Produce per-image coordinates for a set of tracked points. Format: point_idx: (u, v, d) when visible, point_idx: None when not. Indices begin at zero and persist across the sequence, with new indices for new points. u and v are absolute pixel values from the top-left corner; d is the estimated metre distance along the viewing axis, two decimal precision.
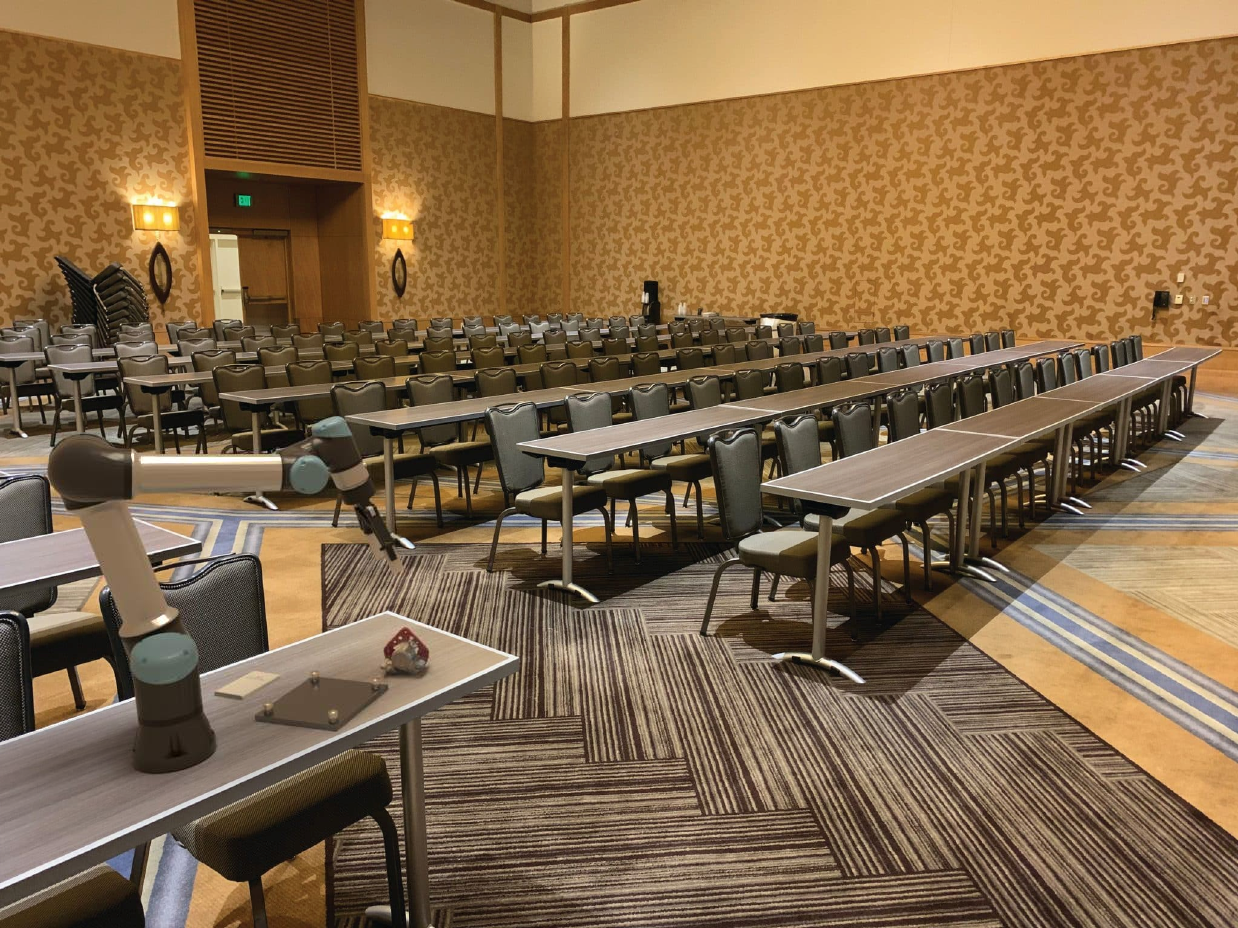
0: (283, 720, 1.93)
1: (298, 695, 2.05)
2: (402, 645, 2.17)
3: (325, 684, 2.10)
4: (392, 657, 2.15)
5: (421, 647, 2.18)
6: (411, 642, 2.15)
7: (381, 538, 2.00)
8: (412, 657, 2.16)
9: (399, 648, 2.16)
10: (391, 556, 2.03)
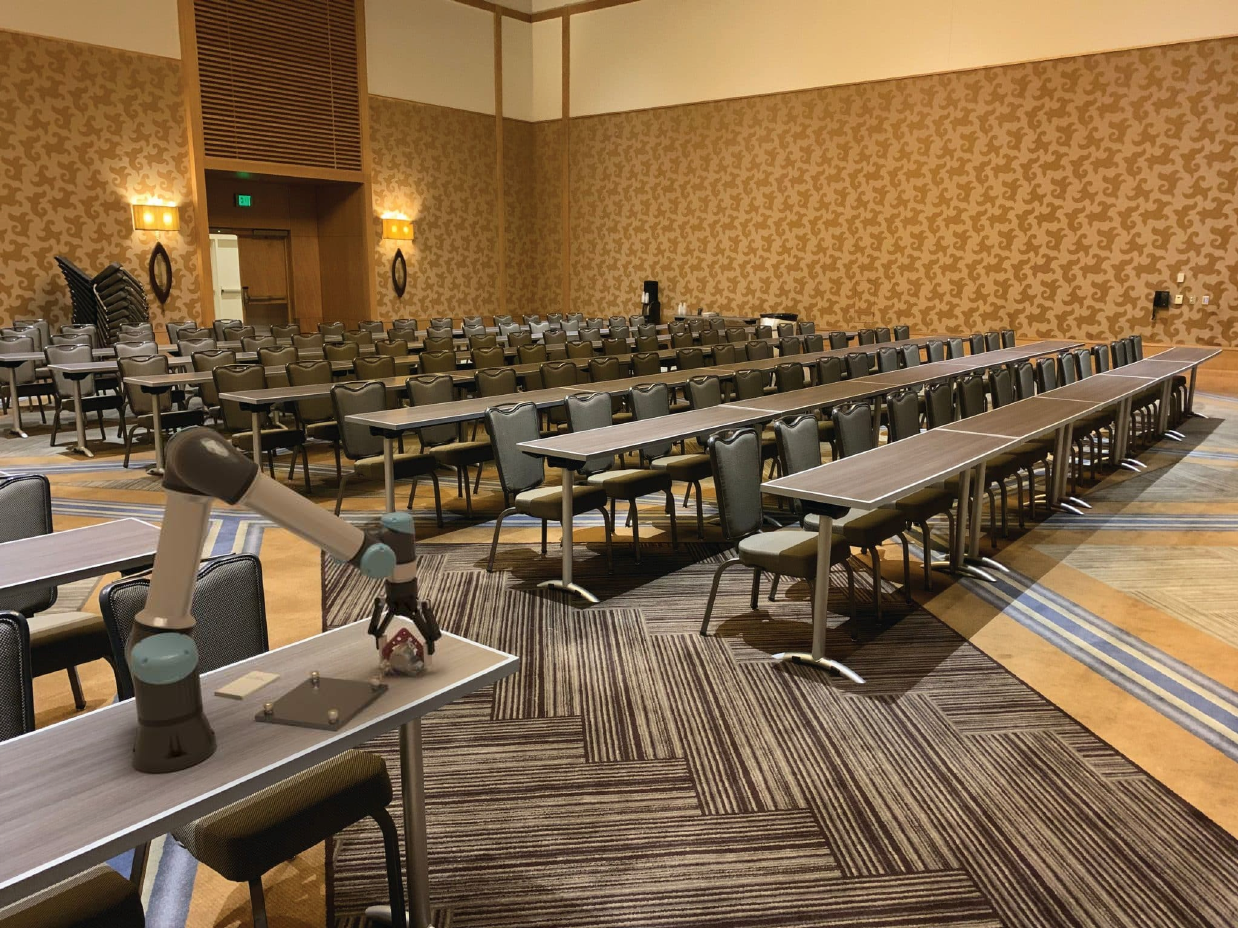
0: (283, 720, 1.93)
1: (298, 695, 2.05)
2: (400, 646, 2.17)
3: (325, 684, 2.10)
4: (390, 658, 2.15)
5: (420, 648, 2.18)
6: (409, 643, 2.14)
7: (434, 630, 2.15)
8: (410, 658, 2.16)
9: (397, 649, 2.15)
10: (432, 649, 2.16)
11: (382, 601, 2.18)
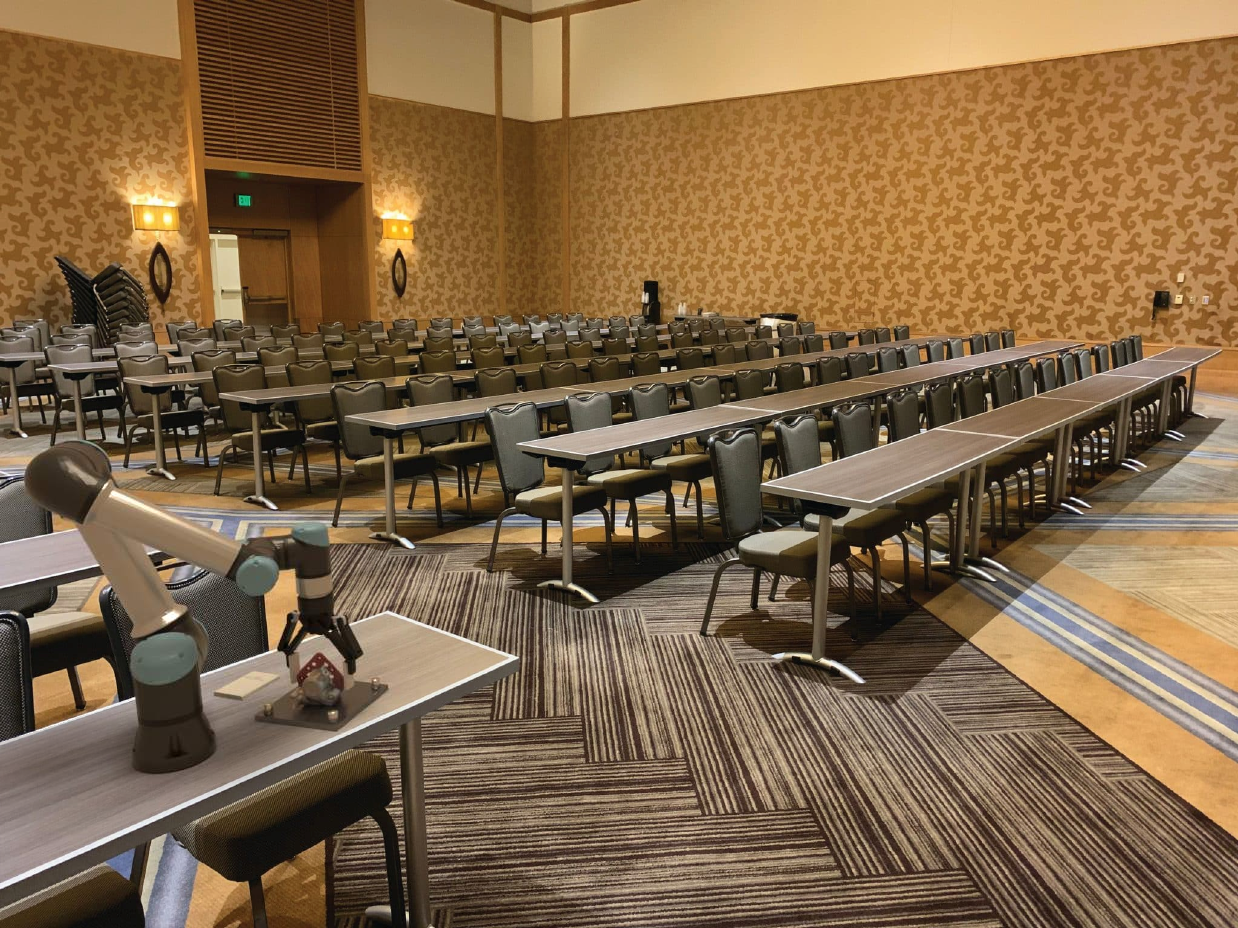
0: (283, 720, 1.93)
1: None
2: (315, 672, 1.99)
3: None
4: (303, 686, 1.97)
5: (336, 675, 2.00)
6: (323, 669, 1.97)
7: (354, 648, 1.96)
8: (325, 686, 1.98)
9: (311, 676, 1.98)
10: (353, 669, 1.98)
11: (295, 617, 2.00)
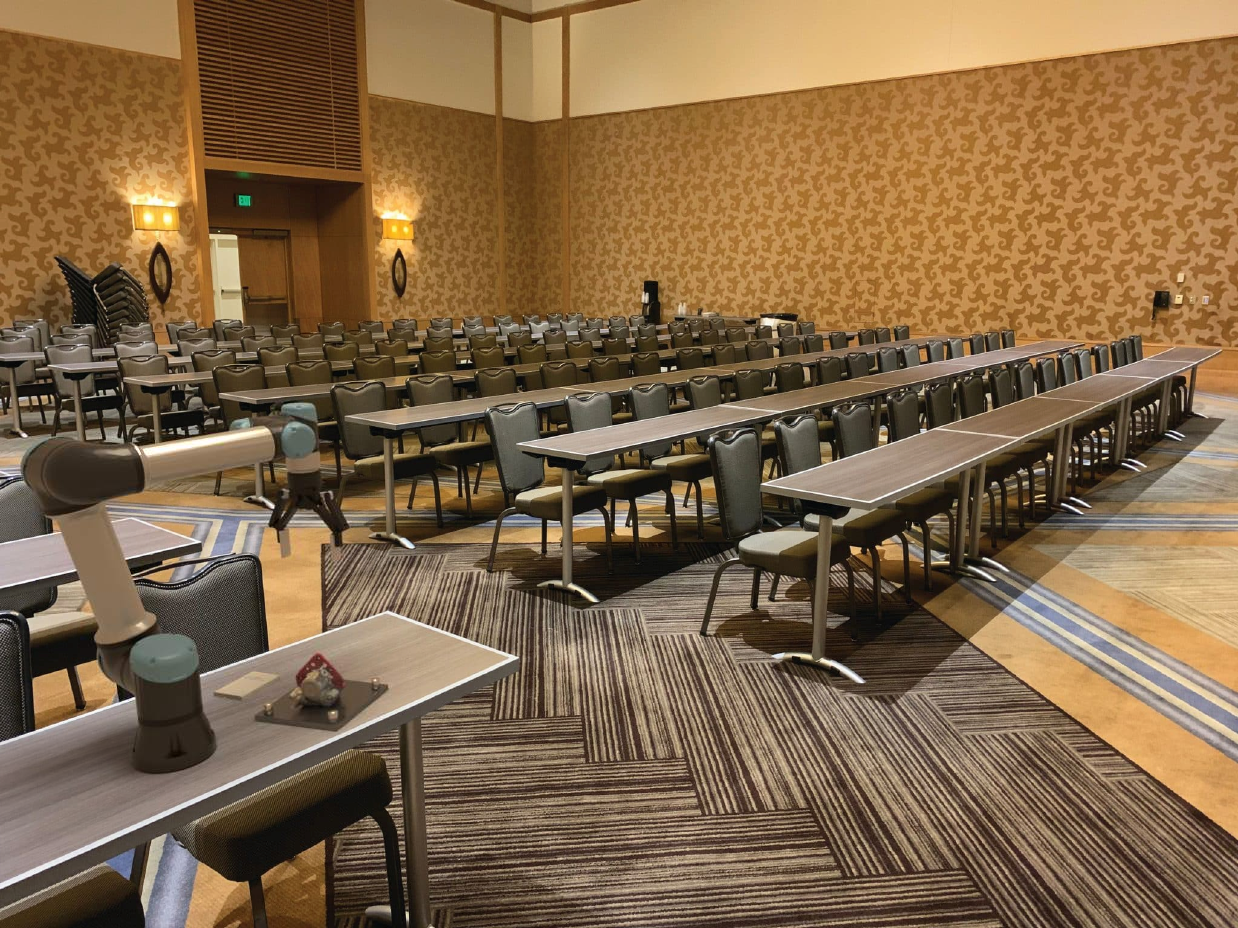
0: (283, 720, 1.93)
1: None
2: (314, 673, 1.99)
3: None
4: (301, 686, 1.97)
5: (335, 675, 2.00)
6: (322, 670, 1.96)
7: (340, 521, 2.09)
8: (324, 686, 1.98)
9: (310, 676, 1.97)
10: (339, 541, 2.11)
11: (285, 494, 2.12)
